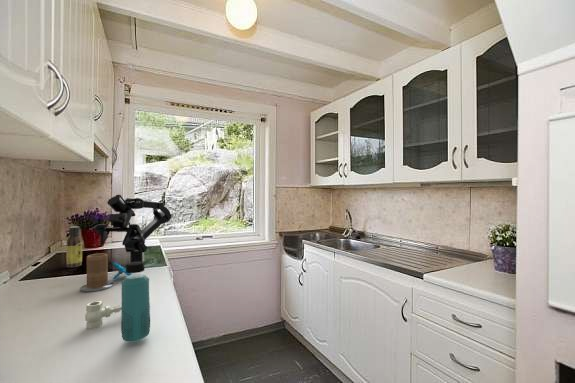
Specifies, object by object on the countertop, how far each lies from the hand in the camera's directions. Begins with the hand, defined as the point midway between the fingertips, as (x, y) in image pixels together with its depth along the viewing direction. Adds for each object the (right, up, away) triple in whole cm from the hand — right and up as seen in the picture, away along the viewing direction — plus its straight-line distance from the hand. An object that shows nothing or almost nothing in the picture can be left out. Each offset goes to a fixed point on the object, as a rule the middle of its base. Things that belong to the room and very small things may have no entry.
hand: (112, 244), depth 126 cm
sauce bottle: (-28, -14, +14) cm, 34 cm away
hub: (+4, -14, -16) cm, 21 cm away
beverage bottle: (+41, -14, -55) cm, 70 cm away
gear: (+7, -14, -4) cm, 16 cm away
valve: (+28, -14, -44) cm, 54 cm away
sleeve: (+4, -13, -16) cm, 21 cm away
